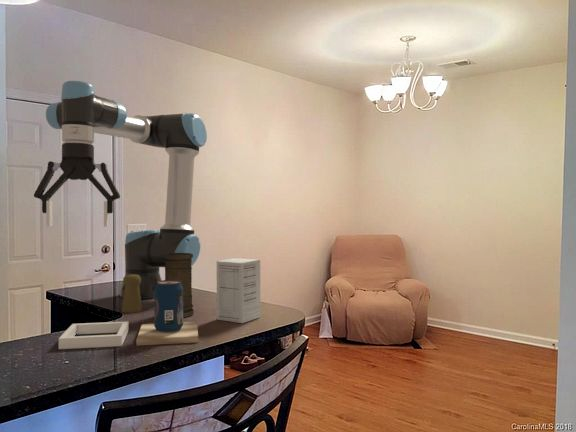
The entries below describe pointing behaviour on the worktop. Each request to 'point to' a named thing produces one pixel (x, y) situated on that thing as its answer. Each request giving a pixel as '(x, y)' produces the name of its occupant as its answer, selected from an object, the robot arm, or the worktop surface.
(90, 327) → the tray
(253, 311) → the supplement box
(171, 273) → the container
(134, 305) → the olive brown rounded figure
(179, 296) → the soda can
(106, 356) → the worktop surface
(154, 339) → the birch board
